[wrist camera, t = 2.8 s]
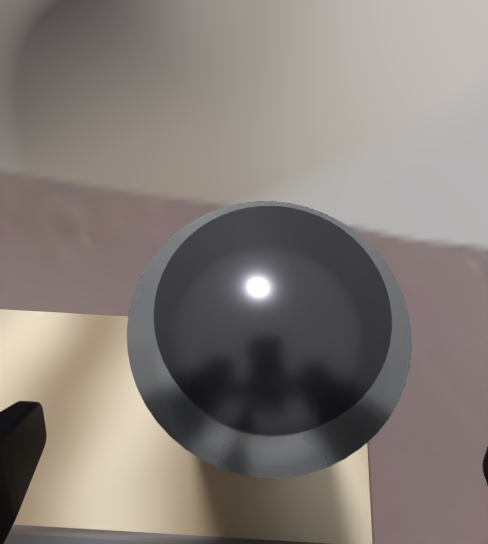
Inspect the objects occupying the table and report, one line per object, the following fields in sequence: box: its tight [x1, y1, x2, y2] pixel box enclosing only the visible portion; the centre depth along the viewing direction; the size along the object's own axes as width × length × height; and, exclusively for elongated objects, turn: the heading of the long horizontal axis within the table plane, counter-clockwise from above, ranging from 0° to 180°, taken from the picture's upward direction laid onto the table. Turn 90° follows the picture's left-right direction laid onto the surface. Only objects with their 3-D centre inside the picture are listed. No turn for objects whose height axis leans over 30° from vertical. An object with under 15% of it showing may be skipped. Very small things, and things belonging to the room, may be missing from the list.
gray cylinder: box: [127, 201, 412, 478], centre depth 12 cm, size 5×5×11 cm
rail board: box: [0, 309, 372, 544], centre depth 16 cm, size 23×9×3 cm, turn 87°
